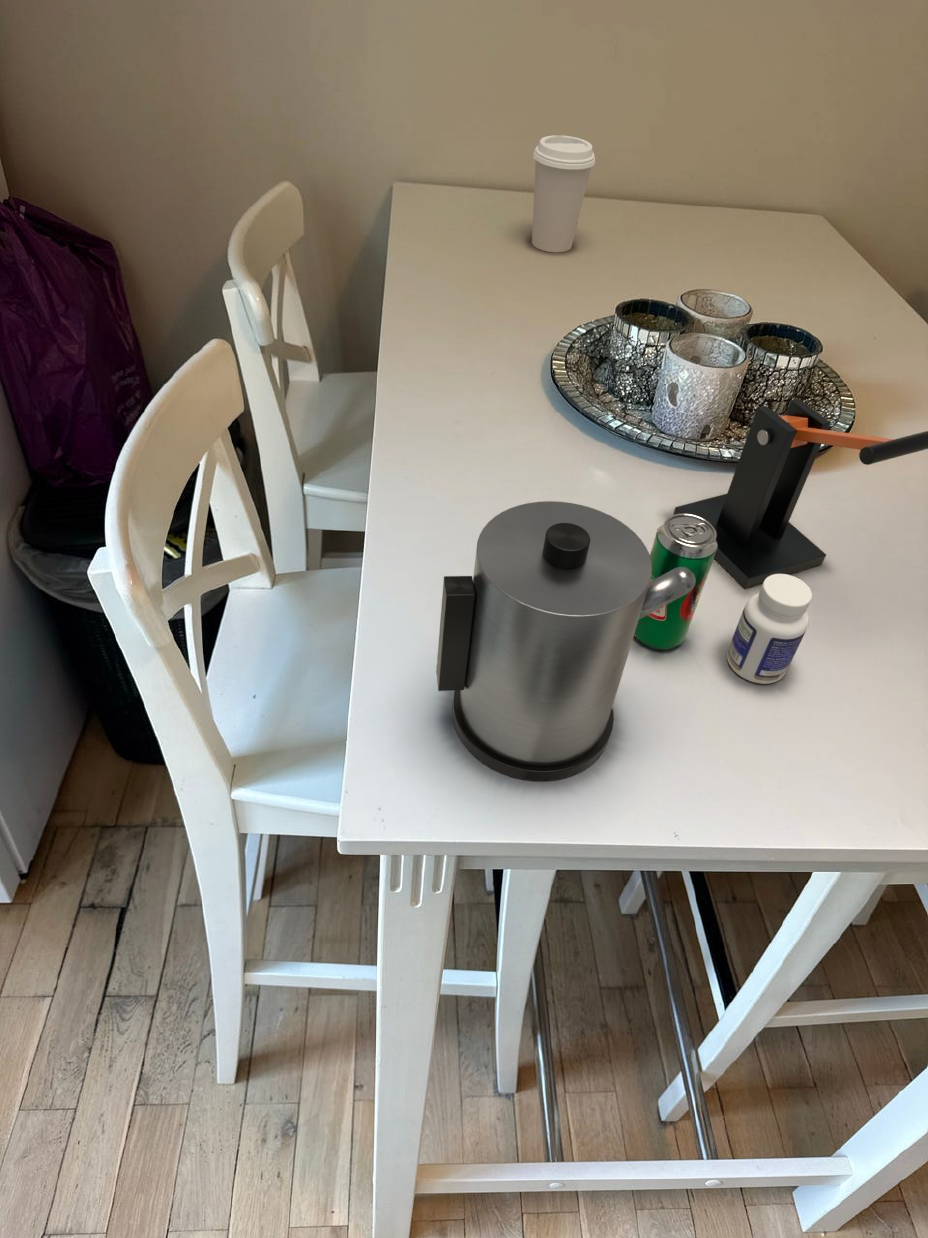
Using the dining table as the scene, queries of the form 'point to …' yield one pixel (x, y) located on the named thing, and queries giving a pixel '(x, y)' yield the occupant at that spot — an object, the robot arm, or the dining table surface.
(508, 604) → the kettle
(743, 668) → the pill bottle
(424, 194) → the dining table surface
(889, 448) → the orange switch lever
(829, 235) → the dining table surface
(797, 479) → the switch bracket
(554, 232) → the coffee cup
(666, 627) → the soda can
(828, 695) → the dining table surface
